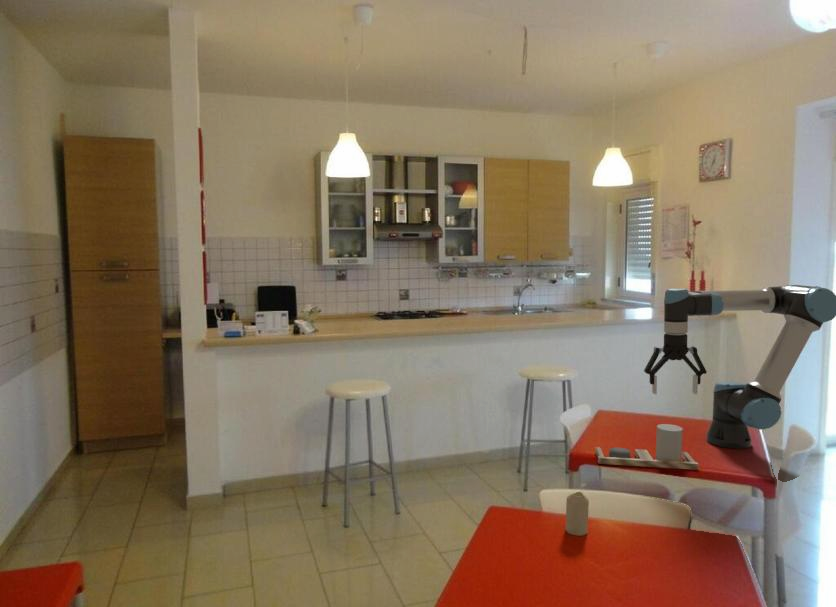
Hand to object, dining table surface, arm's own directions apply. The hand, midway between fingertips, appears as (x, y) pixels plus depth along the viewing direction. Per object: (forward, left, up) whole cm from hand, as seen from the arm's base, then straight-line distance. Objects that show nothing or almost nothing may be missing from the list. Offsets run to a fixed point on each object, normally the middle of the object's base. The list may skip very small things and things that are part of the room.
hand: (674, 393), depth 210 cm
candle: (+39, +64, -23) cm, 78 cm away
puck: (+19, +6, -23) cm, 30 cm away
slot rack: (+11, +7, -23) cm, 26 cm away
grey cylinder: (+3, +6, -23) cm, 24 cm away
